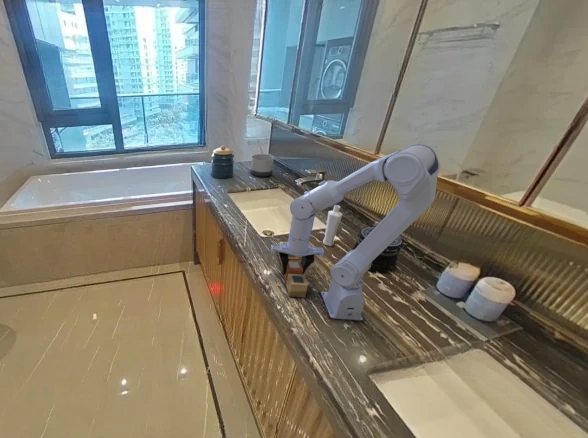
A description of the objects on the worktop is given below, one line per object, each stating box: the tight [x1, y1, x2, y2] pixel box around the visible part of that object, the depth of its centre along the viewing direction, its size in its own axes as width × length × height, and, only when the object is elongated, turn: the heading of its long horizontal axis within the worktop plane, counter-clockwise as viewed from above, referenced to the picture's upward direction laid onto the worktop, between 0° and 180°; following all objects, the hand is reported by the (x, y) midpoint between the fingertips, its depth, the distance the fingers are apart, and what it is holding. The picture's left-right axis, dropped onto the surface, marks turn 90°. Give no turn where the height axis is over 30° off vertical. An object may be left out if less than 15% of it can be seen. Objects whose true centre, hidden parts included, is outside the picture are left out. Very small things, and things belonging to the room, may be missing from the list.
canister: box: [211, 145, 235, 179], centre depth 165 cm, size 13×13×18 cm
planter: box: [249, 153, 275, 178], centre depth 167 cm, size 13×13×10 cm
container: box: [352, 226, 404, 272], centre depth 92 cm, size 13×13×10 cm
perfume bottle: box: [322, 204, 344, 247], centre depth 100 cm, size 5×4×15 cm
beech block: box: [279, 254, 300, 267], centre depth 91 cm, size 4×4×5 cm
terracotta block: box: [283, 260, 303, 282], centre depth 86 cm, size 4×4×5 cm
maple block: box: [285, 274, 309, 298], centre depth 81 cm, size 4×4×5 cm
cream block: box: [277, 241, 288, 261], centre depth 96 cm, size 4×4×5 cm
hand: (292, 272), depth 86 cm, fingers closed on terracotta block, 4 cm apart
